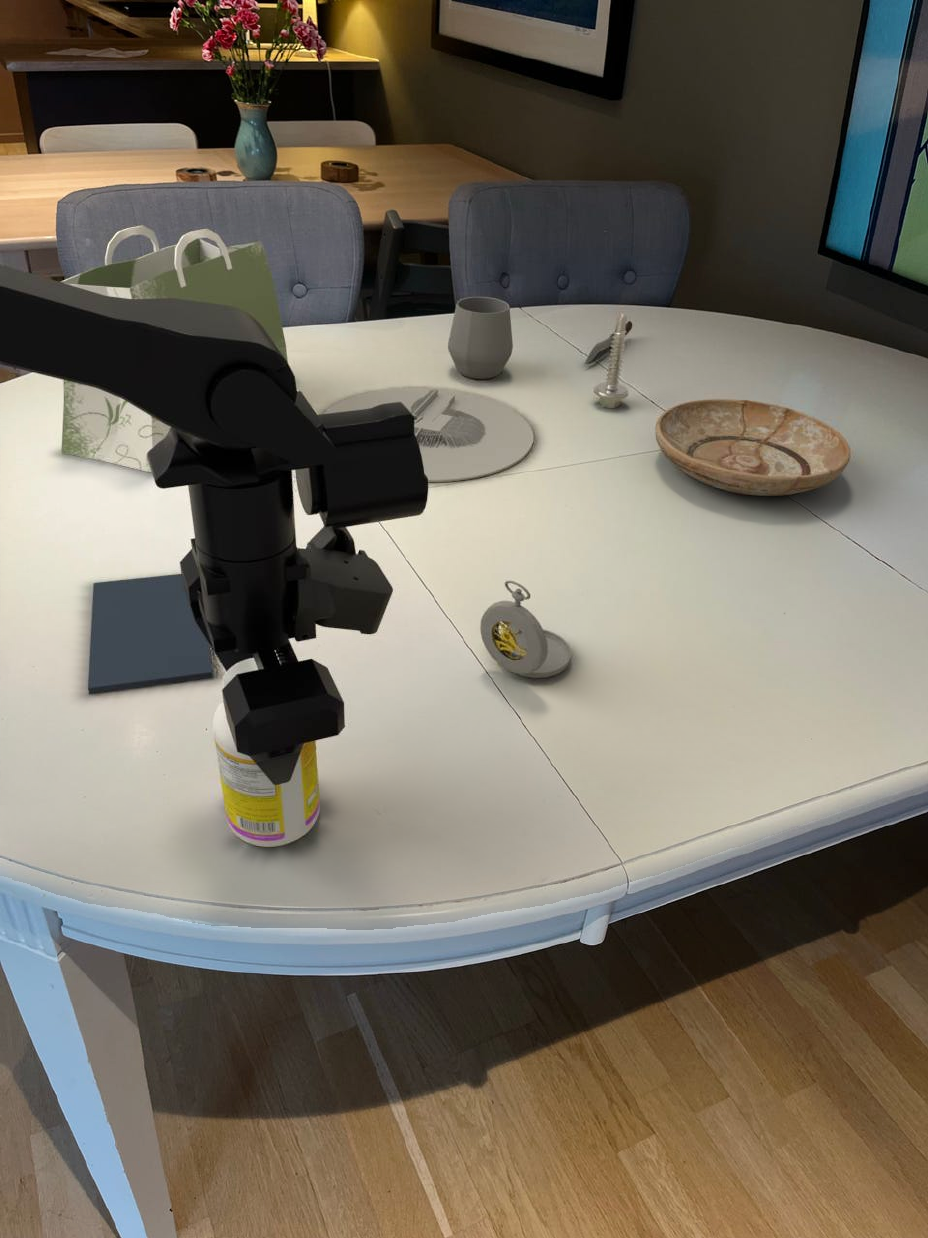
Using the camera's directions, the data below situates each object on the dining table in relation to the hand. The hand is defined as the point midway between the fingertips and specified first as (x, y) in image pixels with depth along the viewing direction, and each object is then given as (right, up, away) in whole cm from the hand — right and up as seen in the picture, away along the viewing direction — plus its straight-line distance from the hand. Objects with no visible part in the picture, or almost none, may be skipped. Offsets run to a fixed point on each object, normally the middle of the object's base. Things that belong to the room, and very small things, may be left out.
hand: (264, 735), depth 64 cm
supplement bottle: (0, -6, +5) cm, 8 cm away
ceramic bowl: (+48, +26, +55) cm, 77 cm away
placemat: (-15, +7, +22) cm, 27 cm away
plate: (+8, +32, +59) cm, 68 cm away
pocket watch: (+19, +4, +21) cm, 28 cm away
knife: (+36, +50, +86) cm, 106 cm away
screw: (+34, +38, +69) cm, 86 cm away
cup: (+16, +44, +77) cm, 90 cm away
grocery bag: (-23, +34, +60) cm, 73 cm away
